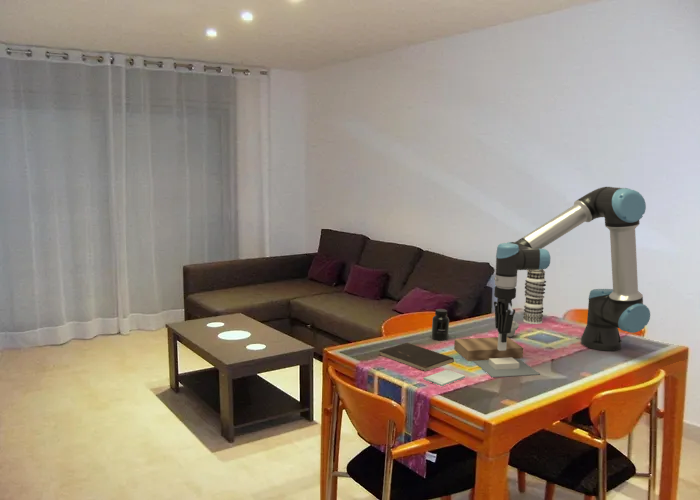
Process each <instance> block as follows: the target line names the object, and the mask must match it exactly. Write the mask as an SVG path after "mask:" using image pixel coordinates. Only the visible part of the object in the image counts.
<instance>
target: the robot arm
mask: <svg viewBox="0 0 700 500" xmlns="http://www.w3.org/2000/svg"><path fill="white" fill-rule="evenodd" d="M646 209H647V204H646V201H645V198H644V196H643V195H642V194H641V193H640V192H639V191H637V190H635V189H631V188H627V187H613V186H603V187H598V188H596V189H594V190H592V191H590V192H588V193H587V194H585V195H583V196H581V197H580V198H578V199H577V200H575V201H574V203H573V205H572V206H571V207H568V208H567V209H565V210H564V211H563V212H561V213H559V214H558V215H556V216H554V217H553V218H551V219H549V220H548V221H547V222H545V223H543V224H541V226H539V227H536V229H534V230H532V231H530V232H529V233H527V234H525V235H524V236H523V237H521V238H519V239H518V240H516V241H508V242H503V243H499V244H497V246H496V255H495V277H494V285H495V287H494V291H493V292H494V294H493V295H494V297H495V298H497V300H496V301H493V305H494V321H495V322H494V323H495V329H496V330H497V332H498V335H497V337H498V348H497V349H498V350H499V351H504V350H506V344H507V333H511V327H512V322H513V321H514V316H515V313H516V309H513V308H512V306H513V302H512V300H514V299H515V298H516V296H517V288H516V287H517V282H518V280H517V279H518V272H519V271H527V270H541V269H543V270H546V269H548V268H549V267H550V264H551V255H550V252H549V250H548V249H546V248H545V247H547V246H548V245H550V244H552V243H553V242H554V241H556V240H558V239H559V238H561V237H563V236H564V235H566V234H567V233H569V232H571V231H573V230H574V229H575V228H577V227H579V226H580V225H582V224H583V223H585V222H586V223H590V222H593V221H594V220H596V219H599V218H604V226H605V228H607V229H608V230H609V237H610V238H609V239H610V256H611V257H610V258H611V259H610V261H611V274H612V275H611V276H612V288H595V289H591V290H590V292H589V295H588V303H587V304H588V305H587V306H588V308H587V320H586V321H587V322H586V326H585V328H584V330H583V333H582V335H581V337H580V344H581V345H582V346H584V347H586V348H588V349H593V350H597V351H605V352H606V351H607V352H610V351H611V352H612V351H613V352H615V351H618V350H620V349H622V339H621V336H620V335H621V334H620V331H619V330H621V331H623V332H628V333H632V334H633V333H635V334H636V333H638V332H641V331H642V330H644V329H645V327H646V326H647V325H648V324H649V322H650V319H651V311H650V308H649V307H648V306H647V305H646V304H644V296H643V294H642V293H641V292H640V291H639V286H638V285H639V284H638V283H639V281H638V264H637V263H638V262H637V261H638V259H637V242H636V241H637V239H636V229H637V227H639V225H640V220H641V219H642V218H643V215H644V214H645V213H646Z"/></svg>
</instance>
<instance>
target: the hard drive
mask: <svg viewBox="0 0 700 500" xmlns="http://www.w3.org/2000/svg"><path fill="white" fill-rule="evenodd" d="M463 378H465V379H466V375H464V374H461V373H459V372H456V371H454V370H450V369H444V370H441V371H439V372H436V373H433V374H430V375H427V376H425V377H423V378H422V380H423V379H424V380H426V381H429V382H432V383H434V384H437V385H440V386H444V385H446V384H449V383H452V382H454V381H457V380H460V381H462V380H464V379H463ZM461 379H462V380H461ZM424 380H423V381H424ZM426 381H425V382H426ZM429 382H428V383H429ZM457 382H458V381H457ZM432 383H431V384H432ZM434 384H433V385H434ZM452 384H453V383H452ZM437 385H436V386H437ZM449 385H450V384H449ZM444 387H445V386H444Z"/></svg>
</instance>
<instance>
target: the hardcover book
mask: <svg viewBox="0 0 700 500" xmlns="http://www.w3.org/2000/svg"><path fill="white" fill-rule="evenodd" d="M379 352H380V356H382V357H385V358H388V359H390V360H392V361H396V362H398V363H401V364H404V365H405V366H406V365H407V366H409V367H412V366H413V367H412V368H415V367H416V368H415V369H417V368H418V370H420V369H421V371H423V370H424V371H423V372H428V371H431V370H434V369H436V367H437V368H439V367H442V366H446V365H448V364H452V363H454V361H455V358H454V357H453V356H449V355H446V354H443V353H440V352H438V351H437V352H436V351H433V350H431V349H428V348H425V347H422V346H419V345H416V344H413V343H410V342H403V343H400V344H397V345H394V346H391V347H387V348H384V349H381V350H379ZM433 368H434V369H433ZM430 369H431V370H430ZM427 370H428V371H427Z"/></svg>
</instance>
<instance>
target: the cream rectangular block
mask: <svg viewBox="0 0 700 500" xmlns="http://www.w3.org/2000/svg"><path fill="white" fill-rule="evenodd" d="M489 365H491V366H492V367H493V368H494V369H495V370H499V369H518V368H519V362H517V361H516V360H515V359H513V358H512V357H511V358H491V359H489Z"/></svg>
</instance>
